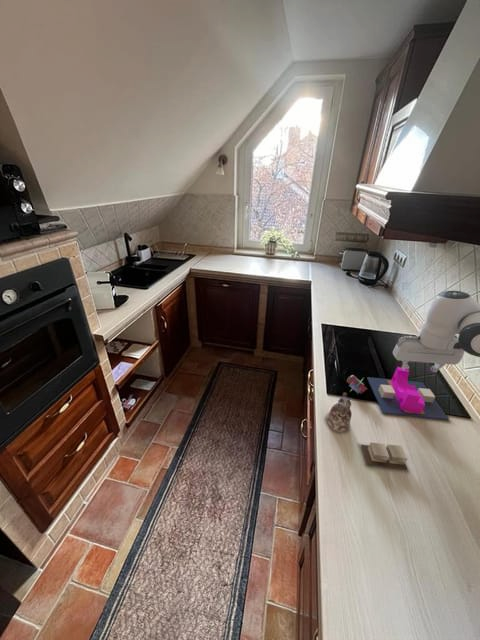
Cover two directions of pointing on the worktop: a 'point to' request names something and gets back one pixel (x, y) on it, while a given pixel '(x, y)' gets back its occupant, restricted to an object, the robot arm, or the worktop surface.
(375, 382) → the blue orange board
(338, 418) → the figurine
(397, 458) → the word strip left
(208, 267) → the worktop surface
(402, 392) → the toy block
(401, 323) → the worktop surface
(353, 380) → the geometric puzzle
